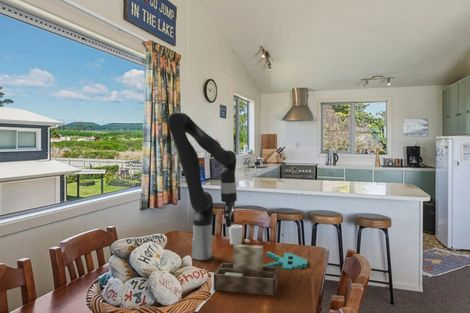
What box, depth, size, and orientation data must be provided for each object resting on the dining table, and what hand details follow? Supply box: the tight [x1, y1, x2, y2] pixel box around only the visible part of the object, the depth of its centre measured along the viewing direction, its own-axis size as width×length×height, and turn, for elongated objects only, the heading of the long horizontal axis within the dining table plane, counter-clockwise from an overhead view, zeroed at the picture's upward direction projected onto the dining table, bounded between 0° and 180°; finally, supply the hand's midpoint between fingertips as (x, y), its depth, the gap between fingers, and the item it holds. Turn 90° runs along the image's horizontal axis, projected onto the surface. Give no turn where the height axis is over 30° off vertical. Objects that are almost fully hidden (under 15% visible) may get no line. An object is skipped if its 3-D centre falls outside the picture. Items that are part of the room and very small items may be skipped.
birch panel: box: [232, 244, 264, 271], centre depth 136 cm, size 12×3×15 cm, turn 78°
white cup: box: [228, 224, 243, 246], centre depth 191 cm, size 8×8×10 cm
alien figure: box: [263, 251, 308, 271], centre depth 159 cm, size 20×2×20 cm
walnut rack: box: [213, 262, 279, 296], centre depth 133 cm, size 24×13×7 cm, turn 78°
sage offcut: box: [224, 272, 243, 276], centre depth 131 cm, size 7×4×5 cm, turn 78°
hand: (230, 224), depth 161 cm, fingers open, 8 cm apart
